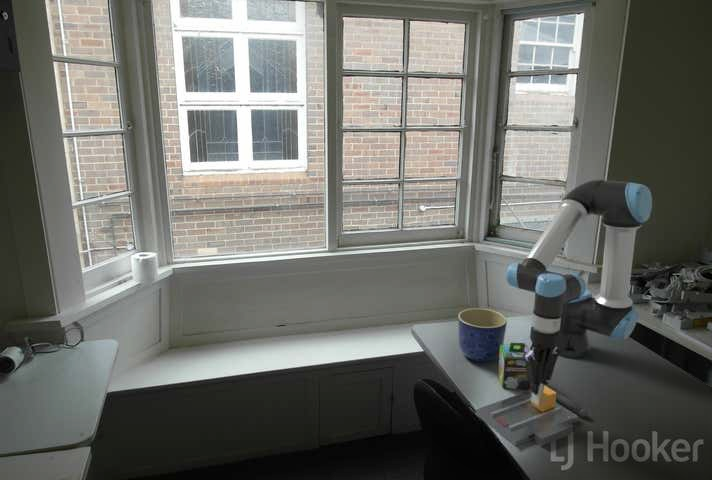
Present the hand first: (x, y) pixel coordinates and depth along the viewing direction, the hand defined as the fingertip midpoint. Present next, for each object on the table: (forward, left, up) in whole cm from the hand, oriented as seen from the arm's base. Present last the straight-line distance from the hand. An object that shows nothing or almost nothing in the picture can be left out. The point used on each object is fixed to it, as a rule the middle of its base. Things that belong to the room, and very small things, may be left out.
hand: (535, 402), depth 141 cm
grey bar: (+10, -4, -4) cm, 11 cm away
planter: (-35, +9, -4) cm, 36 cm away
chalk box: (-16, +7, -4) cm, 18 cm away
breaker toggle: (0, +3, -2) cm, 4 cm away
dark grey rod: (0, +11, -4) cm, 12 cm away
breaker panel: (0, -4, -4) cm, 5 cm away
